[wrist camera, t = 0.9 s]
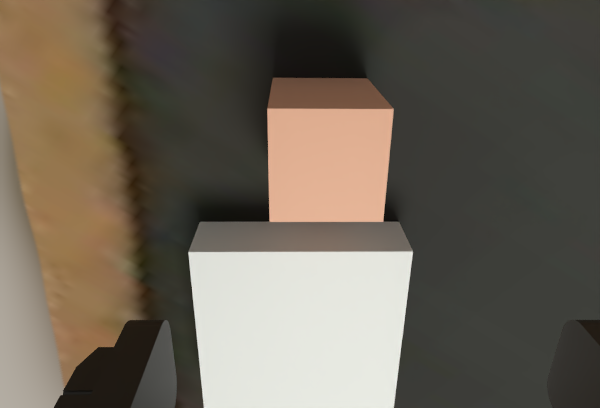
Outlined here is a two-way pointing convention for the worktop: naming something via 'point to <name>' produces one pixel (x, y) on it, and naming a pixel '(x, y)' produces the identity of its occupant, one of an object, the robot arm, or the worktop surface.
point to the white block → (299, 312)
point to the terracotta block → (327, 150)
